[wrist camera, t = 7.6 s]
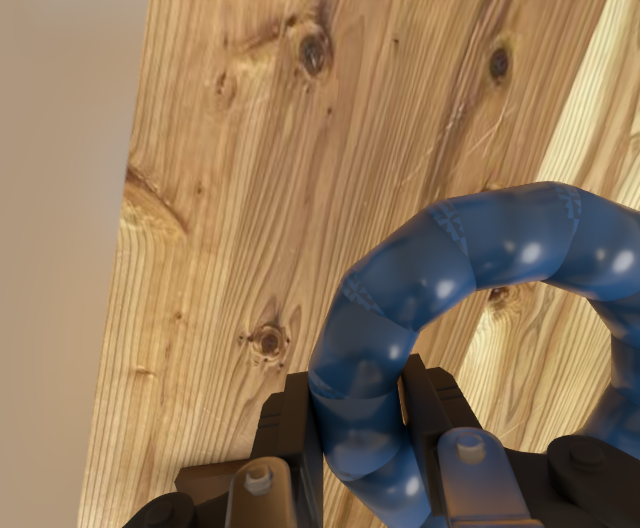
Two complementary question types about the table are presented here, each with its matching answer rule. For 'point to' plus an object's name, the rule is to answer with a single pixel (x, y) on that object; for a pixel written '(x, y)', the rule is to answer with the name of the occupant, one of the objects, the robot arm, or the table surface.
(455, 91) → the table surface
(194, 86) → the table surface
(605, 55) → the table surface
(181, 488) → the stand
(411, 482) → the blue segmented ring
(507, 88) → the table surface
